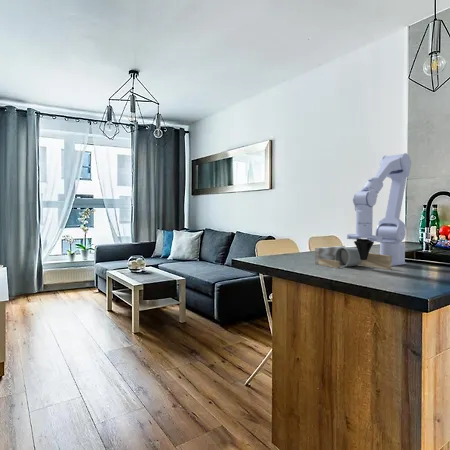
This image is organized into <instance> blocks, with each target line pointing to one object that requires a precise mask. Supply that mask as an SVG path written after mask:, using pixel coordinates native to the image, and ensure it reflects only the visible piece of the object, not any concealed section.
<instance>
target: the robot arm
mask: <svg viewBox="0 0 450 450" xmlns="http://www.w3.org/2000/svg"><path fill="white" fill-rule="evenodd" d="M411 166H412V159H411V157H410V155H409V154H408V153H407V152H405V153H401V154H400V153H399V154H393V155H384V156H382V157H381V159H380V161H379V168H378V170H377V171H376V173H375V175H374V177H369V178H368V179H367V181H366V183H365V184H364V186H363V187H362V189H361V190H359V191H356V192H355V194H354V195H353V198H352V203H353V205H354V210H355V233H347V234H346V239H347V240H353V243H354V245H355V246H356V247H355V248H357V249H358V252H359V255H360V260H367V257H368V254H369V253H370V251H371V249H372V247H373V245H374V243H376V242H377V243H380V244H379V254H381V255H388V256H392V259H391V267H394V266H395V267H396V266H401V265H407V262H406V261H405V260H406V259H405V258H406V247H405V245H404V243H402V242H403V241H404V239H405V238H406V224H405V222H404V221H402V220H401V219H400V217H401V213H402V212H401V211H402V206H403V199H404V195H405V194H404V193H405V189H406V184H407V177H409V176H410V173H411ZM386 178H389V179H391V185H390V189H389V195H388V200H387V206H386V212H385V216H384V217H383V218H381V219H380V220H379V221H378V225H377V227H376V229H375V231H374V234H373V217H374V215H373V214H374V212H373V211H374V209H373V207H374V206H375V205H377V198H378V197H379V196H378V194H379V193H380V191H381V190H382V189H383V187H384V183H383V182H384V181H385V180H386ZM354 240H355V241H354Z"/></svg>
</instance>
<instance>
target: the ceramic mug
mask: <svg viewBox="0 0 450 450" xmlns="http://www.w3.org/2000/svg"><path fill="white" fill-rule="evenodd" d="M334 261H339V268H347V267H356V266H358V265H359V264H360V263H361V262H362V260H360V255H359V252H358V249H357V247H346V246H345V247H340V248H338V249H337V251H336V253H335V259H334ZM359 266H360V265H359Z"/></svg>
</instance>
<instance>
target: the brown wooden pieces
mask: <svg viewBox="0 0 450 450" xmlns="http://www.w3.org/2000/svg"><path fill="white" fill-rule="evenodd" d="M340 247H346V246H345V245H335V246H322V247H315V249H314V264H315V265H318V264H319V266H325V267H330V268H335V269H340V266H339V261H334V259H335V253H336V251H337V249H338V248H340ZM391 259H392V256H388V255H381V254H380V253H372V252H369V254H368V257H367V260H362V262H361V263H360V264H359V266H366V267H371V268H378V269H383V270H392V266H391Z"/></svg>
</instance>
